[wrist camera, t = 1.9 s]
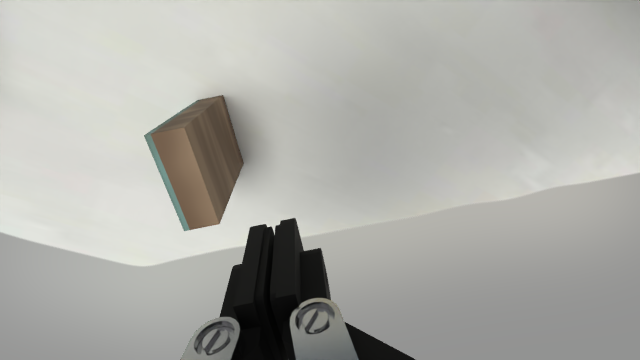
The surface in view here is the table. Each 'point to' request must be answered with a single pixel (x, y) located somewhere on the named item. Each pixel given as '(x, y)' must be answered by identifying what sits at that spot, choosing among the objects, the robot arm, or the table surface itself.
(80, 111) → the table surface
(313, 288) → the robot arm
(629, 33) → the table surface
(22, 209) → the table surface
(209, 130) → the walnut slab
